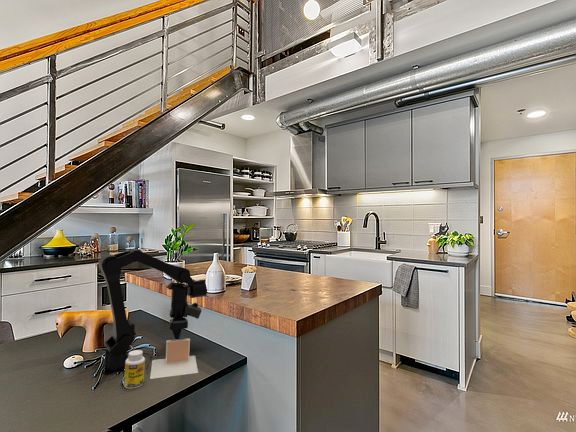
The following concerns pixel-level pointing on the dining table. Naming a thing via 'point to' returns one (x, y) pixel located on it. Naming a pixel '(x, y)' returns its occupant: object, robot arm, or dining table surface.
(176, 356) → the tile
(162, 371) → the mat
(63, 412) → the dining table surface
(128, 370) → the supplement bottle
